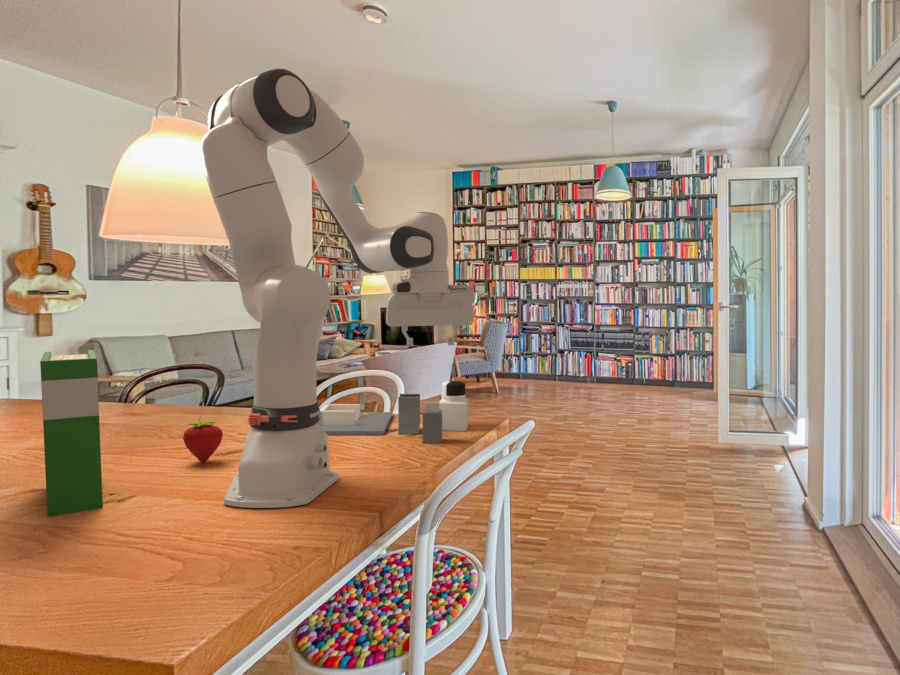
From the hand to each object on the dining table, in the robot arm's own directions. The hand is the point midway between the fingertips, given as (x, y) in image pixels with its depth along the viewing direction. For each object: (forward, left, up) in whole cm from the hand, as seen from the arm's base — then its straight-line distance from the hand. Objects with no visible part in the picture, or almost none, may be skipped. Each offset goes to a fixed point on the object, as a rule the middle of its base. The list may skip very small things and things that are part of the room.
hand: (430, 345), depth 142 cm
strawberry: (-18, +46, -23) cm, 54 cm away
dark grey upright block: (+10, +6, -22) cm, 25 cm away
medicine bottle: (+14, -5, -23) cm, 27 cm away
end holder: (+18, +24, -22) cm, 37 cm away
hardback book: (-39, +59, -23) cm, 74 cm away
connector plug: (0, 0, -22) cm, 22 cm away
